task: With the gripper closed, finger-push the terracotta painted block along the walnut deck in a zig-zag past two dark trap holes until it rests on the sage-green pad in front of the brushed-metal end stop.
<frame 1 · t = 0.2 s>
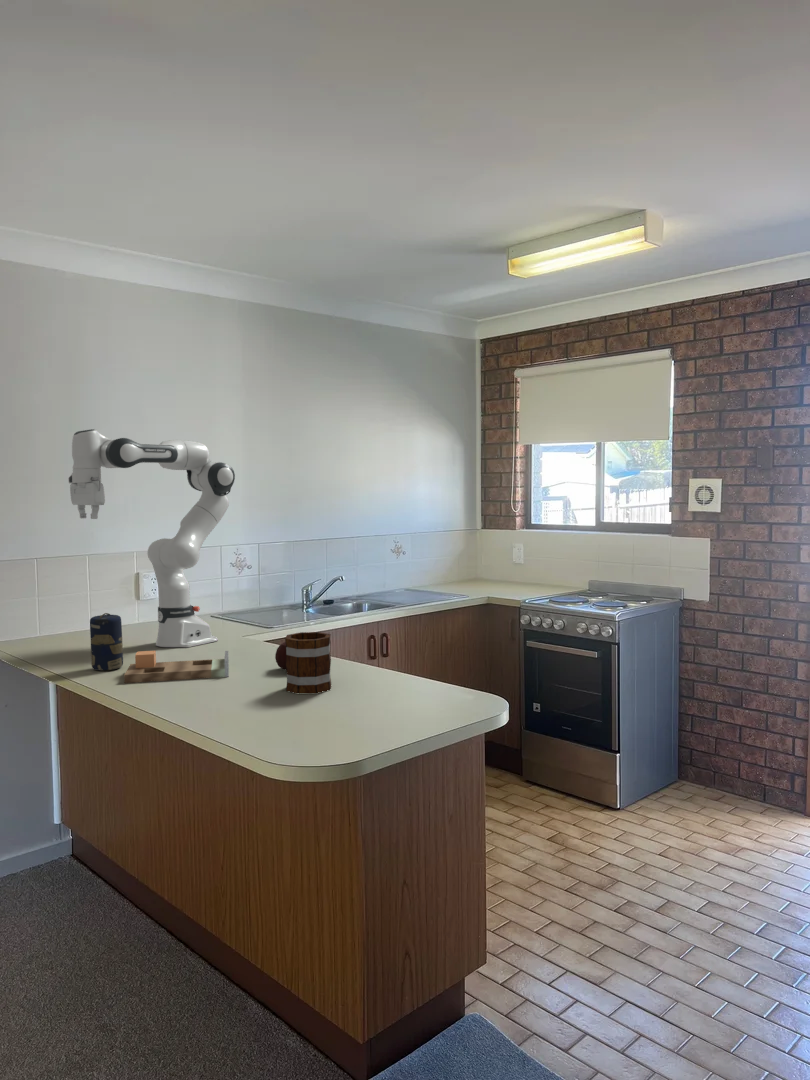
hand: (88, 518, 267), 48 cm above the countertop, fingers open, 8 cm apart
deck: (178, 674, 244), on the countertop
end stop: (226, 671, 247), on the countertop
potato: (290, 670, 247), on the countertop
block: (146, 665, 245), point 2 cm above the countertop, touching deck
mug: (314, 686, 228), on the countertop
canister: (107, 669, 252), on the countertop
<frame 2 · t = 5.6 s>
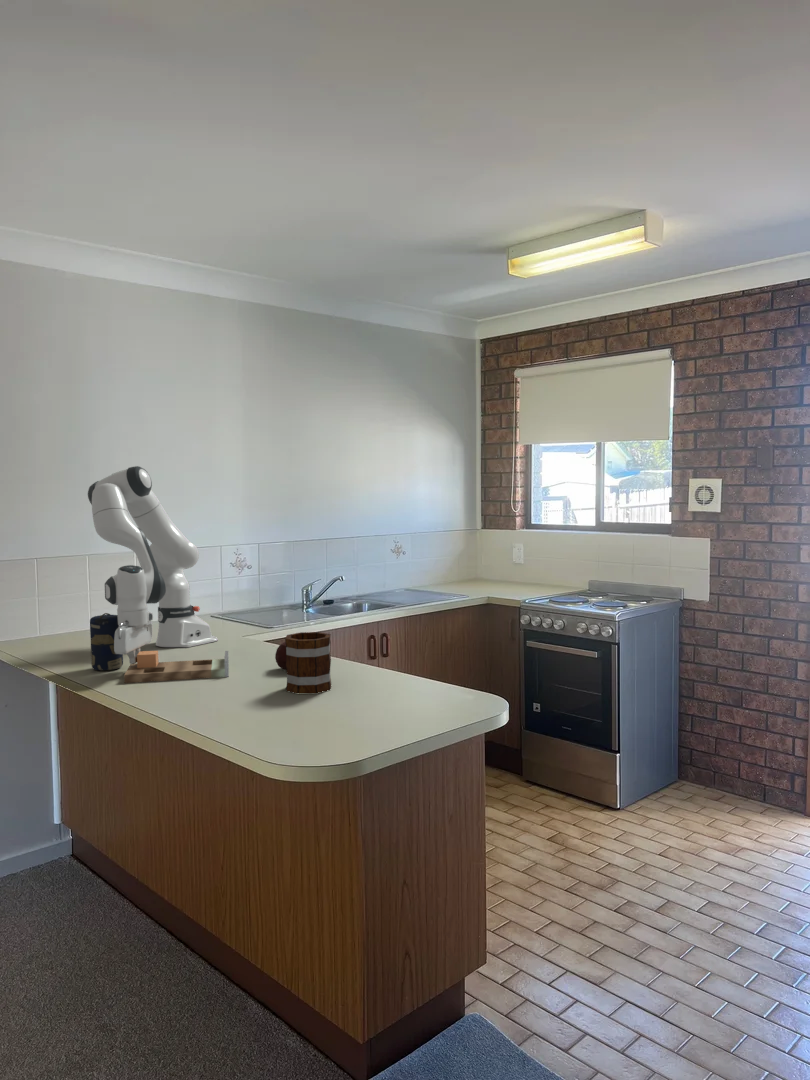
hand: (134, 662, 244), 4 cm above the countertop, fingers closed
block: (148, 665, 245), point 3 cm above the countertop, touching gripper
everything else where it was.
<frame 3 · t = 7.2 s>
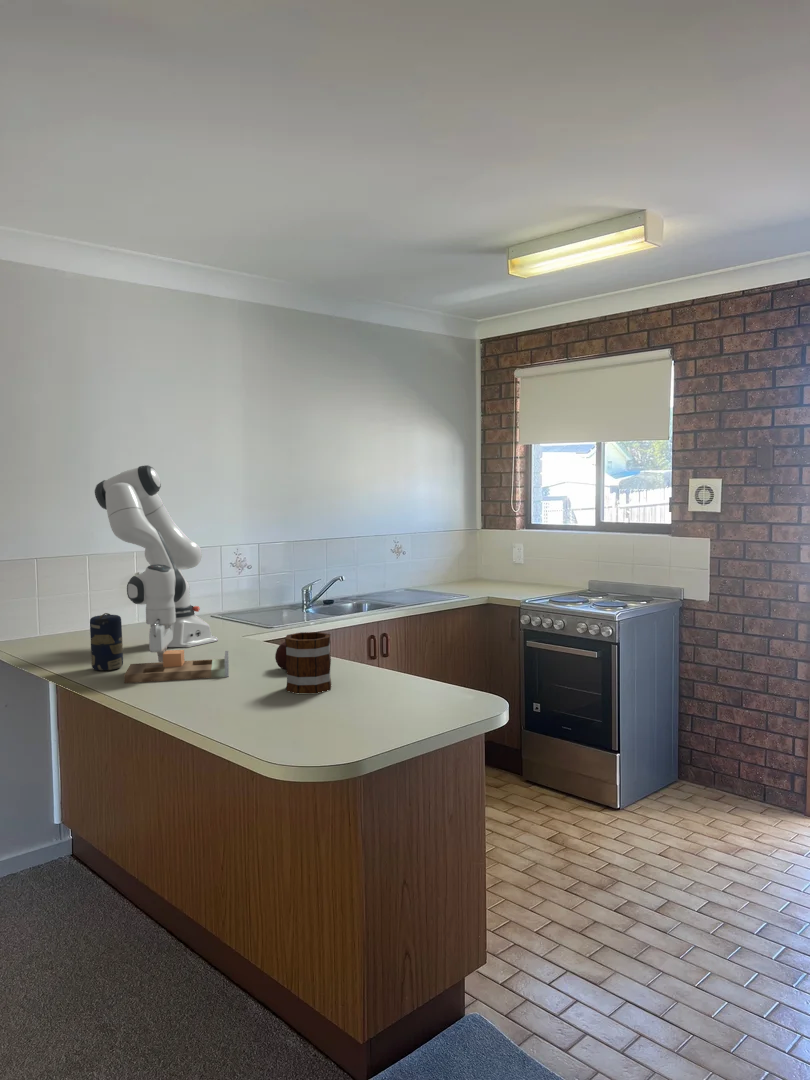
hand: (162, 661, 246), 4 cm above the countertop, fingers closed
block: (174, 664, 246), point 2 cm above the countertop, touching deck
everything else where it was.
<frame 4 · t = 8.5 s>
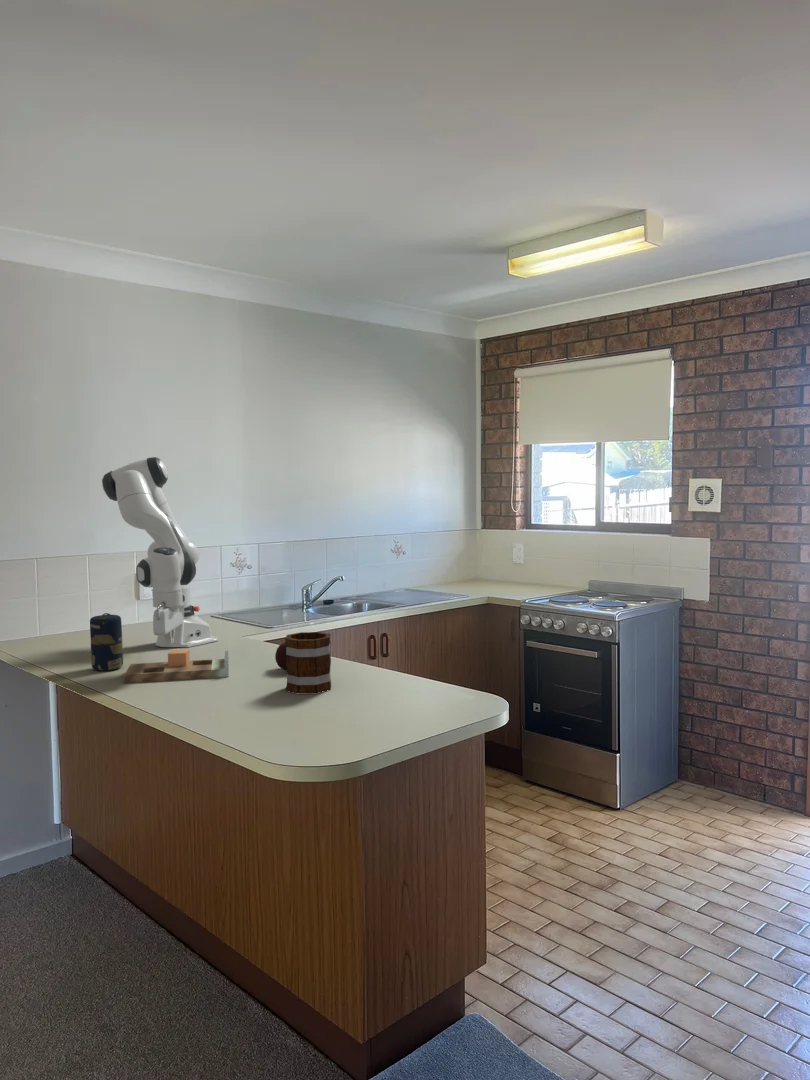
hand: (170, 643, 246), 9 cm above the countertop, fingers closed
block: (179, 664, 246), point 2 cm above the countertop, touching deck
everything else where it was.
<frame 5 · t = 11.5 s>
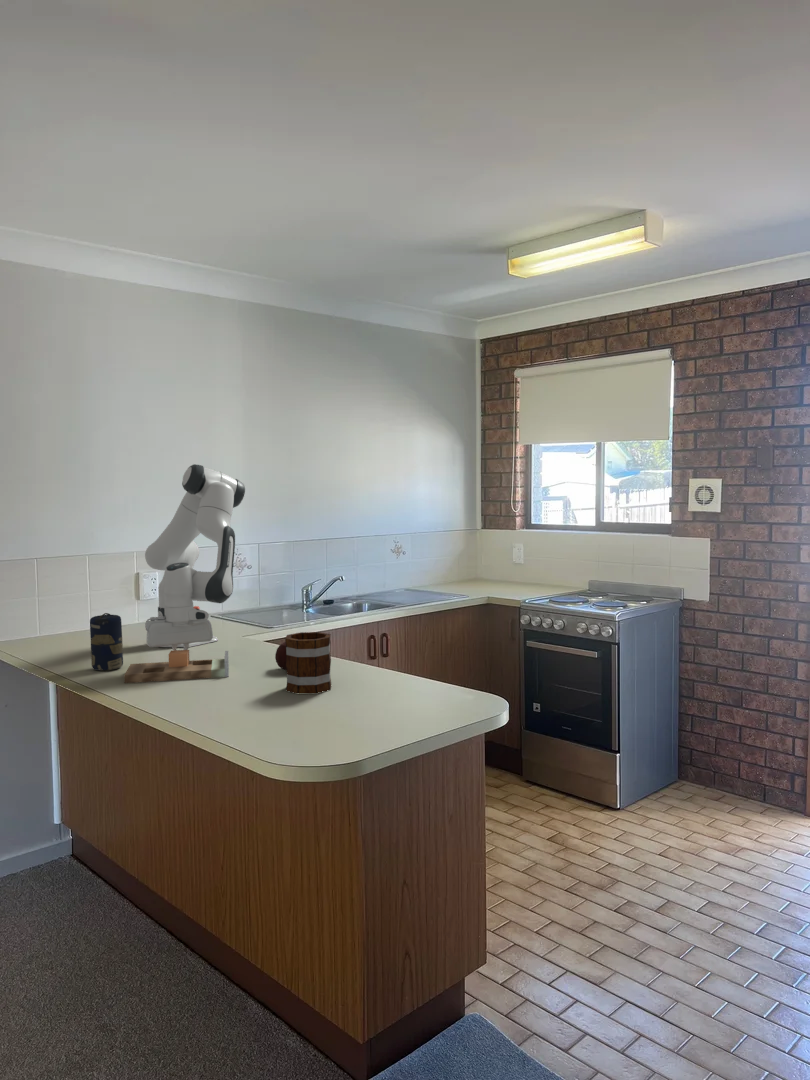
hand: (180, 657, 250), 4 cm above the countertop, fingers closed
nothing on the countertop moved.
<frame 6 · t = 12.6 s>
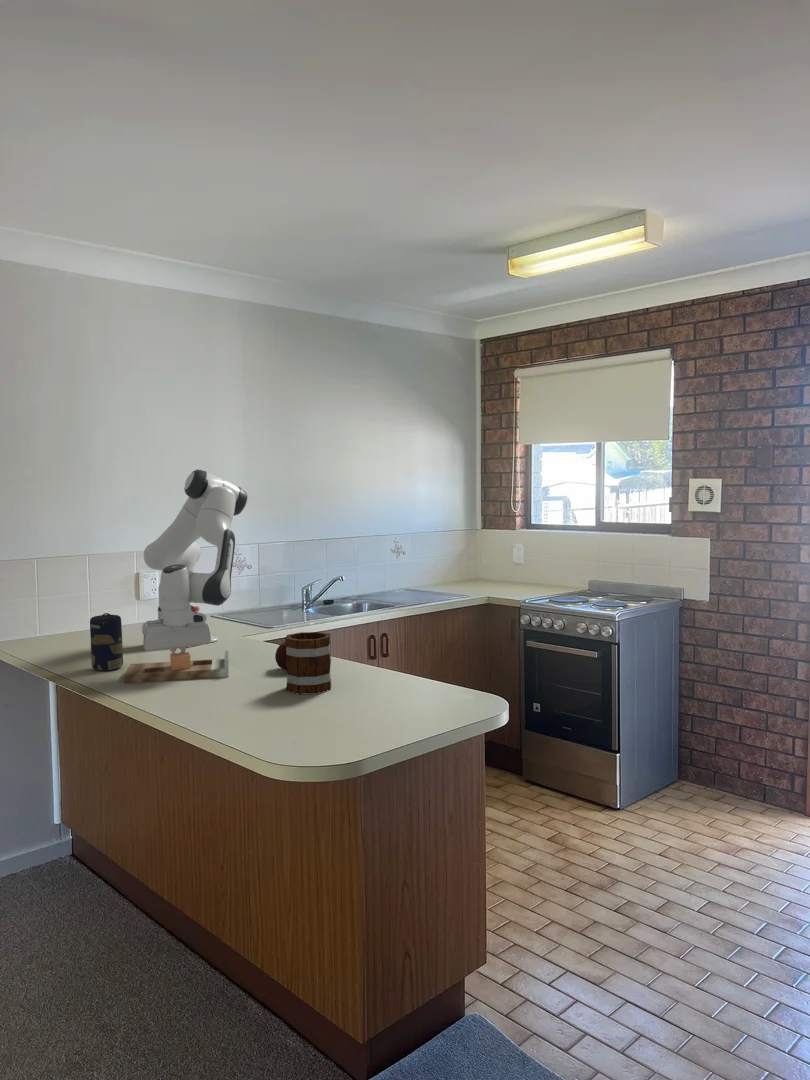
hand: (178, 661, 245), 4 cm above the countertop, fingers closed, pressing on block
block: (180, 667, 242), point 2 cm above the countertop, touching deck, gripper
everything else where it was.
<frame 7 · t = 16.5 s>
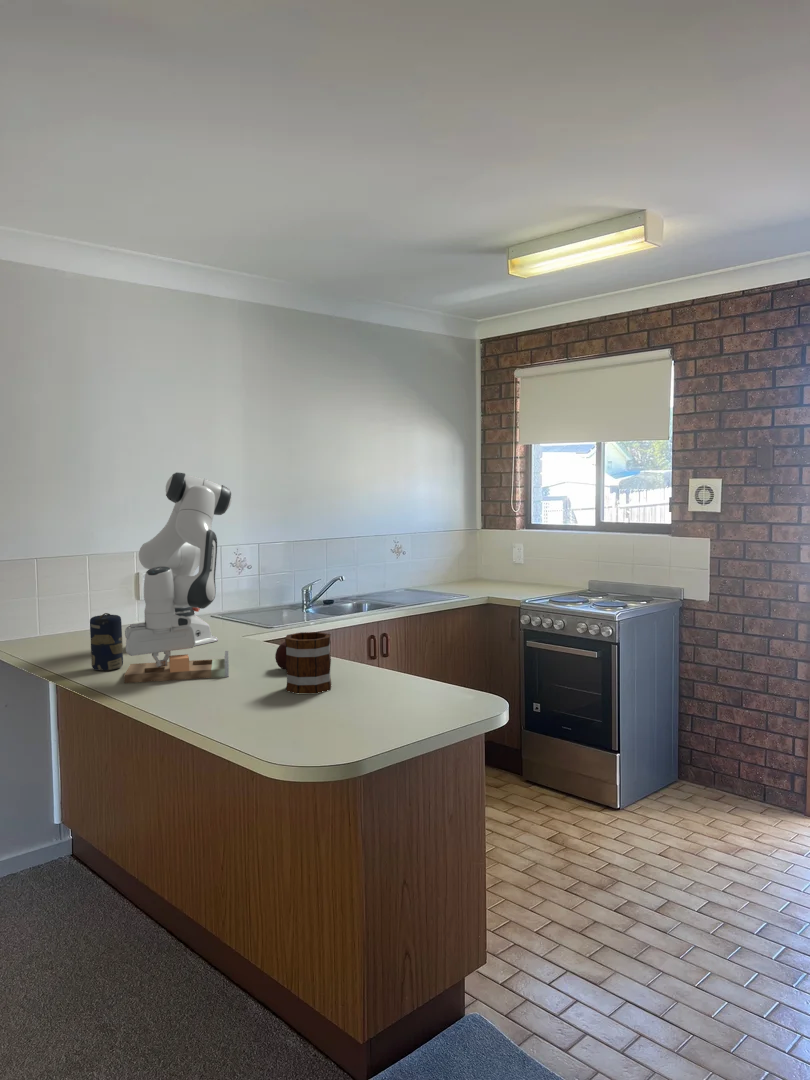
hand: (161, 666, 239), 4 cm above the countertop, fingers closed
block: (179, 669, 239), point 2 cm above the countertop, touching deck, gripper
everything else where it was.
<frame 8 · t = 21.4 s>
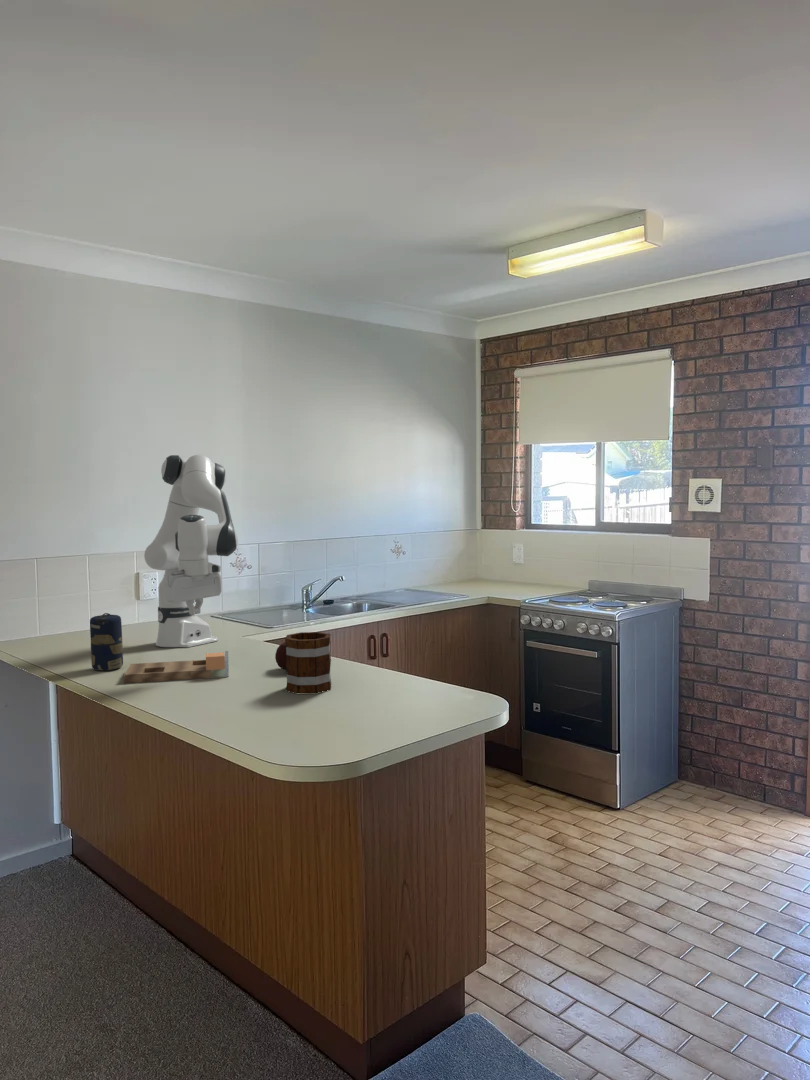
hand: (194, 614, 240), 19 cm above the countertop, fingers closed
block: (215, 667, 241), point 2 cm above the countertop, touching deck
everything else where it was.
at the end: block 6.0 cm from the end stop (horizontally); block point 2.5 cm above the countertop; block tilted 0° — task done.
